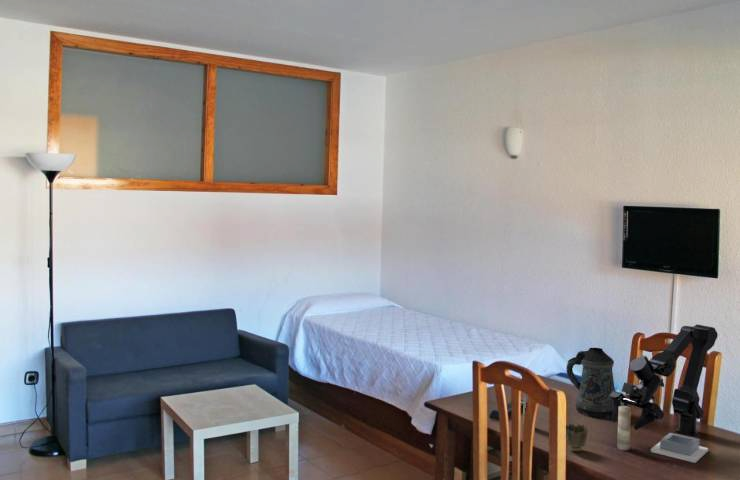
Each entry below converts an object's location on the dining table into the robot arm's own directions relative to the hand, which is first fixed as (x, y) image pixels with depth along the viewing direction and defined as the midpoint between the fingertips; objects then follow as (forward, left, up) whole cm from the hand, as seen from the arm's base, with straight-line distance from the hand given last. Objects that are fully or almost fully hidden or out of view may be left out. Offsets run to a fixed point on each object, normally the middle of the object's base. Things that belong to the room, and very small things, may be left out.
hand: (623, 425), depth 233 cm
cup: (+13, -11, -8) cm, 19 cm away
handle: (+3, -34, -8) cm, 35 cm away
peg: (0, 0, -8) cm, 8 cm away
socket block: (-10, +15, -8) cm, 20 cm away
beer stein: (-31, -24, -8) cm, 40 cm away
